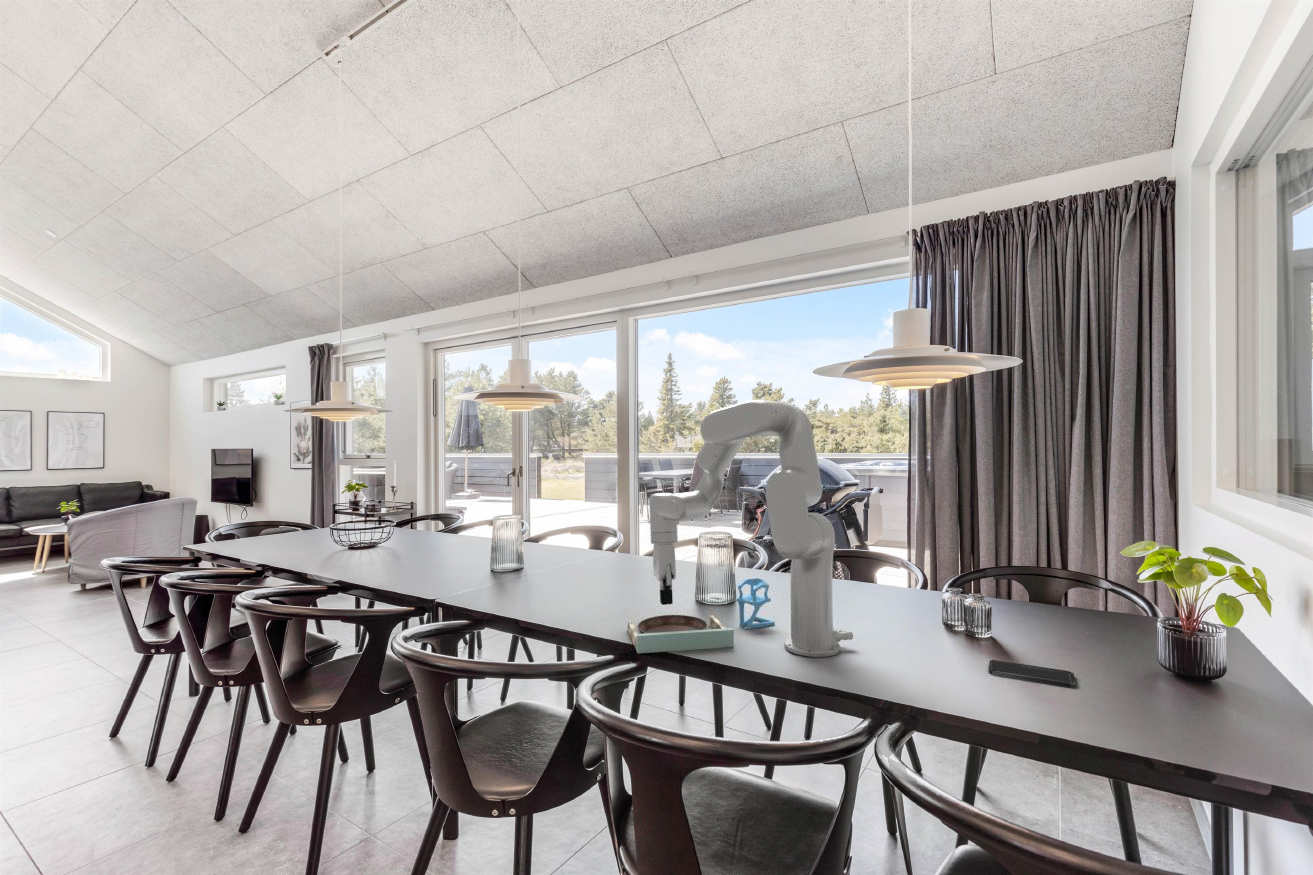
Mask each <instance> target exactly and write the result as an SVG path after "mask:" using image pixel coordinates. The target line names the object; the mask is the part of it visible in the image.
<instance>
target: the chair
mask: <svg viewBox="0 0 1313 875" xmlns="http://www.w3.org/2000/svg"><path fill="white" fill-rule="evenodd" d="M745 585H748V586H750V594H747V595H745V596H744V593H743V590H742V588H743V587H744V586H745ZM754 586H755V587H754ZM762 588H764V589H765V590H764V592H763V596H761V595H758V594H757V592H758V591H759V590H761V589H762ZM769 588H770V584H769V583H767V582H766V580H764V579H761V578H749V579H745V580H743V581H741V582H740V583H739V584H738V585H737V589H738V592H739V597H736V600H735V601H736V602H737V603H738V610H739V627H740V628H743V627H746V630H752V629H758V628H763V627H764V628H765V627H770V626H775V624H776V623H775V621H774V620H772V619H767V618H762V617H759V616H757V614H758V612H759V610H760V608H762V607H763V606H764V605H765V604H766V603H770V602H771V601H772V600H771V599H772V598H771V597H769V596H768V590H769ZM745 604H748V605H751V606H754V609H753V611H752V614H751V616H748V617H747V618H746V619H745ZM754 621H758V622H756V623H754Z"/></svg>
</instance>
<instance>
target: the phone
mask: <svg viewBox="0 0 1313 875" xmlns="http://www.w3.org/2000/svg"><path fill="white" fill-rule="evenodd" d="M987 671H988V674H989V675H992V676H997V677H1002V678H1009V679H1014V680H1021V681H1027V682H1031V683H1039V684H1045V685H1050V686H1056V687H1057V686H1058V687H1064V688H1070V689H1073V688H1076V687H1077V686H1076V678H1075V674H1074V672H1072V671H1069V670H1064V669H1057V668H1051V667H1044V666H1038V665H1032V664H1024V663H1018V662H1012V661H1011V662H1010V661H1003V660H999V659H998V660H997V659H991V660H989V662H988V669H987Z"/></svg>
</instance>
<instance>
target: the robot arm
mask: <svg viewBox="0 0 1313 875" xmlns="http://www.w3.org/2000/svg"><path fill="white" fill-rule="evenodd" d="M812 427H813V426H812V424H811V421H810V418H809V416H807V414H806V413H805V412H804V411H803V410H802V409H800V408H799V407H798V406H796V405H793V404H789V403H788V402H786V403H785V402H781V401H776V400H775V401H773V400H763V399H762V400H761V399H752V400H747V401H743V402H740V403H737V404H734V405H730V406H729V405H728V406H726V407H723V408H719V409H715V410H712V411H711V412H709V413H708V414H706V415H705V417H704V418H703V419H702V421H701V423H700V435H701V437H702V439H703V440H704V441H705V442H704V444H703V445H702V446H701V448H700V450H699V452H698V453H697V455H696V456H695V457H696V463H697V465H698V466H699V467H700V468H701V469H702V471H703V474H702V477H701V479H700V481H699V482H698V484H697V486H696V487H695V489H694V490H693V491H688V492H687V491H685V492H679V493H678V492H677V493H672V492H659V493H658V492H657V493H652V494H651V495H650V496H649V500H648V501H649V524H650V527H649V528H650V544H651V545H652V544H653V547H652V548H653V549H652V553H653V554H652V556H653V557H652V559H653V560H652V561H653V563H652V566H653V567H652V568H653V569H652V570H653V571H652V572H653V573H652V574H653V576H654V577H655V579H657V581H659V588H660V589H659V597H660V598H659V599H660V600H659V602H660V604H661V605H663V606H665V605H673V600H674V599H673V598H674V597H673V581H674V580H675V579H676V578H677V574H676V573H677V568H676V566H677V565H676V550H675V545H676V544H678V540H679V539H678V537H679V536H678V522H684V521H685V522H686V521H690V520H697V519H701V518H703V517H705V516H707V514H709V513H710V511H712V509H713V508H714V507H715V506H714V505H715V504H716V503H717V501H718V500H719V498H720V496H721V495H722V492H723V487H724V483H725V473H726V470H727V469H728V468H729V466H730V465H731V463H732V461H733V460H734V458H735V457H736V455H737V453H738V452H739V451H740V449H741V447H742V446H743V443H744V442H745V440H746V439H747V438H751V437H759V436H760V437H769V436H770V437H774V436H775V437H778V438H779V439H780V441H779V445H778V446H779V447H778V455H779V460H780V466H781V469H779V470H777V471H775V472H773V473H772V475H771V476H770V477H769V479H768V480H767V483H766V486H765V502H766V508H767V513H768V520H769V527H770V531H771V532H770V533H771V537H772V541H773V544H774V548H775V549H776V550H777V551H778V553H779V554H780V555H781V556H782V557H784V558H786V559H789V560H791V563H790V581H789V582H790V637H788V638H787V639H785V640H784V649H786V650H787V651H788V652H789V653H792V654H795V655H798V656H802V657H803V656H804V657H810V658H825V657H826V658H827V657H832V656H835V655H837V654H839V653H840V651H841V645H840V642H841V641H847V640H848V641H851V640H853V639H854V634H853V632H852V631H851V630H848V631H847V630H846V631H843V629H835V628H833V627H834V622H833V621H834V619H833V617H834V615H833V614H834V612H833V611H834V610H833V609H834V608H833V563H834V562H833V561H834V552H835V544H836V531H835V529H834V526H833V524H832V522H831V521H830V520H829V519H828V517H826V516H825V515H823V514H821V513H817V512H809V510H808V509H809V507H813V506H815V505H816V504H818V502H819V501H820V500H821V499H822V496H823V483H822V478H821V473H820V469H819V461H818V456H817V452H816V446H815V440H814V439H815V438H814V432H813V428H812Z"/></svg>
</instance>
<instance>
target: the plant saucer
mask: <svg viewBox="0 0 1313 875" xmlns="http://www.w3.org/2000/svg"><path fill="white" fill-rule="evenodd" d="M708 625H709V624H708V622H707V621H706V620H704V619H701V618H700V617H696V616H692V615H685V614H683V615H682V614H665V615H655V616H652V617H648V618H645V619H642V621H640V622H639V623H638V624H637V630H638V631H639V632H640V634H645V633H661V632H676V631H692V630H708V627H709V626H708Z"/></svg>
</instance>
